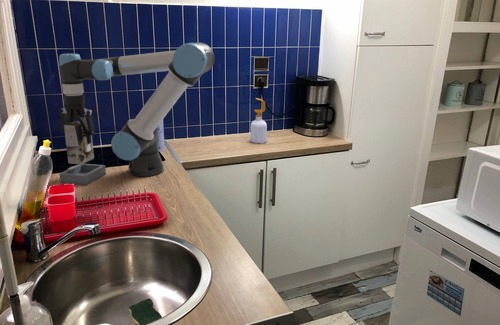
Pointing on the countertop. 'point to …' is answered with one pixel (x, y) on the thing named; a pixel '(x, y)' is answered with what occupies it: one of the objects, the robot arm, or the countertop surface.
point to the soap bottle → (259, 127)
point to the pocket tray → (83, 174)
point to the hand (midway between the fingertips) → (80, 150)
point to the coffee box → (77, 144)
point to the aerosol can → (161, 136)
